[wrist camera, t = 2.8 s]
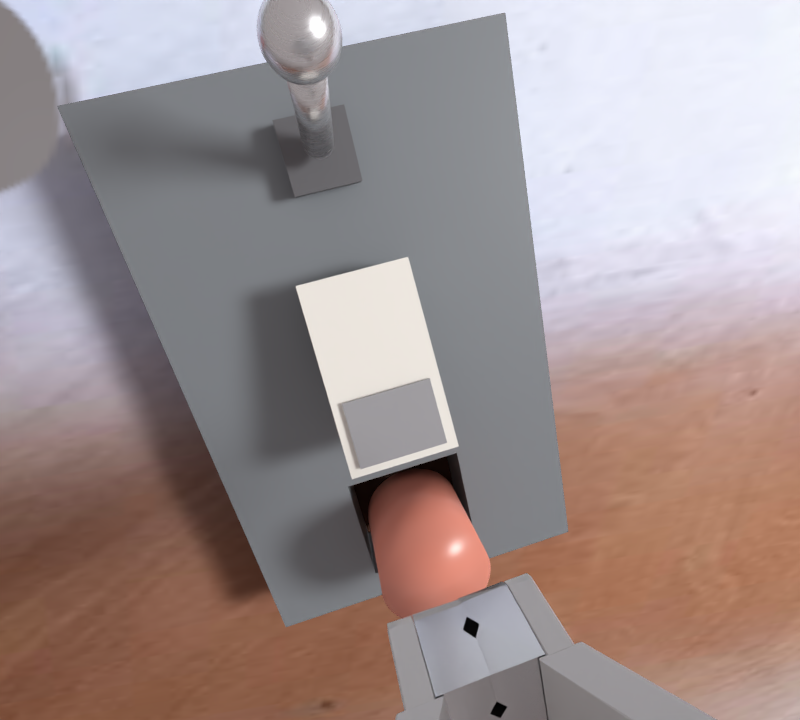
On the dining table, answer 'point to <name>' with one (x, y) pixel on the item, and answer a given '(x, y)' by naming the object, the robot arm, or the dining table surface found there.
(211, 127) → the panel
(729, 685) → the dining table surface
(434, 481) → the push button
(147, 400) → the dining table surface
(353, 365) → the block
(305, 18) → the toggle lever
